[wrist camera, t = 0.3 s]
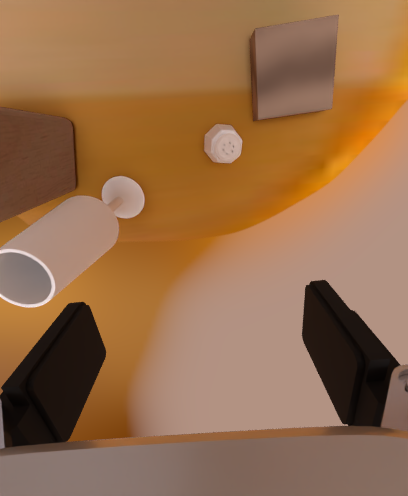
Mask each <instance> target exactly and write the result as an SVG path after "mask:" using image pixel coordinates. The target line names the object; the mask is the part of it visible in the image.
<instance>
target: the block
mask: <svg viewBox="0 0 408 496" xmlns="http://www.w3.org/2000/svg"><path fill="white" fill-rule="evenodd" d="M75 187H76V176H75V158H74V141H73V126H72V123H71V122H70V121H69V120H67V119H66V118H63V117H58V116H52V115H46V114H40V113H34V112H28V111H22V110H16V109H11V108H5V107H0V222H2V221H4V220H7V219H9V218H11V217H14V216H16V215H18V214H21V213H23V212H25V211H27V210H30V209H32V208H34V207H37V206H39V205H41V204H43V203H46V202H48V201H50V200H53V199H55V198H57V197H60V196H62V195H64V194H66V193H69V192H71V191H73V190H74V189H75Z"/></svg>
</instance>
